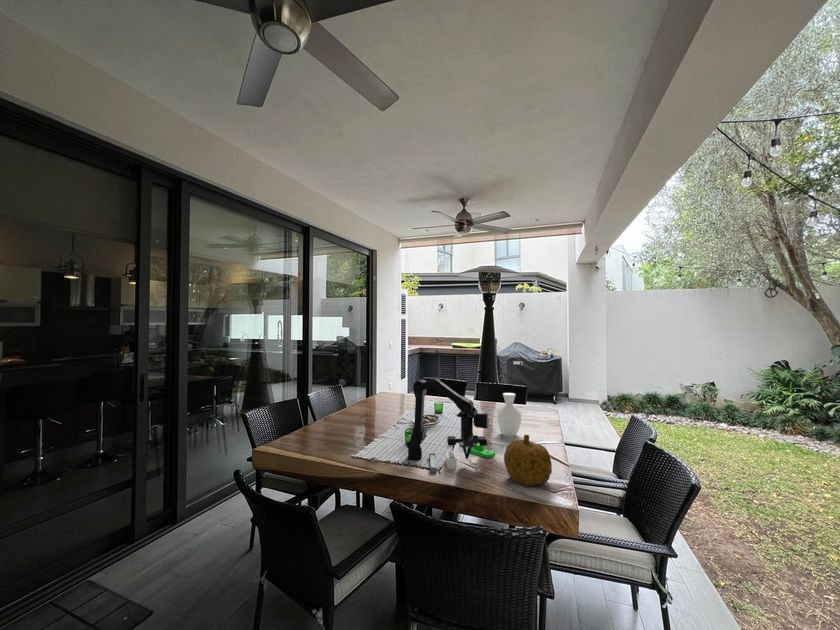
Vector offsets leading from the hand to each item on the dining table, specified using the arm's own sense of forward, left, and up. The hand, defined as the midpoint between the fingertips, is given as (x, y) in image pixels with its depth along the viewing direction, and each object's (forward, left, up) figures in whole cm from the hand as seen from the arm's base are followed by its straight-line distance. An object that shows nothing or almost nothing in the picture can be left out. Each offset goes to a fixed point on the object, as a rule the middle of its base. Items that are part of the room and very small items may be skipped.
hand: (466, 458), depth 170 cm
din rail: (-16, 0, -3) cm, 17 cm away
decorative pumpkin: (+25, -16, -4) cm, 30 cm away
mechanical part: (+10, +15, -4) cm, 19 cm away
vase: (+33, +48, -4) cm, 58 cm away
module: (-8, 0, -4) cm, 8 cm away
